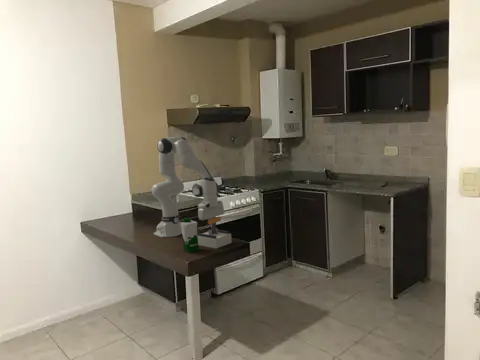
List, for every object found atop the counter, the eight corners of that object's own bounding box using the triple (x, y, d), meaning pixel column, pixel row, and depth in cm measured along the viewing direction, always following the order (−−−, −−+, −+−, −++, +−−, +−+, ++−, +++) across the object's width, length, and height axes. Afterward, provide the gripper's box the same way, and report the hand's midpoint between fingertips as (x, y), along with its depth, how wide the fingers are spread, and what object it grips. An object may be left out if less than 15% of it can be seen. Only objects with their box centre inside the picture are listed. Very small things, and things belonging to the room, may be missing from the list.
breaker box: (196, 244, 260) (195, 230, 259) (212, 239, 270) (211, 225, 269) (216, 248, 248) (215, 233, 247) (231, 242, 258) (230, 228, 257)
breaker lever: (206, 234, 255) (208, 219, 252) (217, 231, 263) (219, 216, 260) (208, 235, 254) (210, 220, 251) (219, 232, 261) (221, 217, 258)
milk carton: (194, 247, 254) (191, 216, 251) (201, 250, 247) (198, 218, 244) (181, 250, 249) (178, 219, 246) (188, 253, 242) (185, 221, 239)
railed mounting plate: (197, 235, 259) (197, 233, 259) (212, 230, 269) (212, 228, 268) (214, 238, 248) (214, 236, 248) (229, 233, 258) (229, 231, 258)
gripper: (218, 199, 265) (220, 219, 267) (195, 205, 250) (197, 227, 252) (225, 200, 261) (227, 220, 263) (202, 206, 246) (204, 228, 248)
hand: (212, 224), depth 257 cm, fingers closed, pressing on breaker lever
